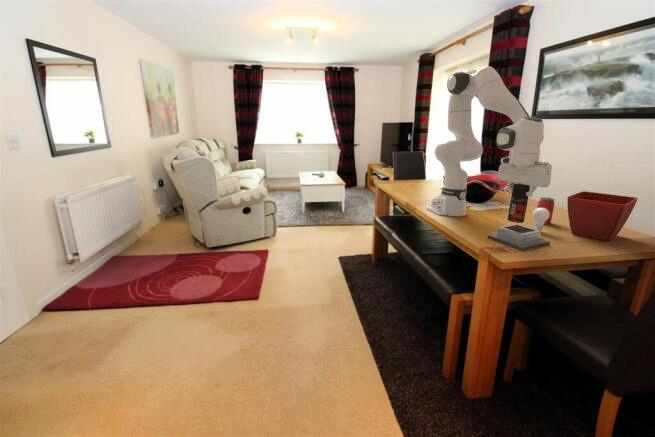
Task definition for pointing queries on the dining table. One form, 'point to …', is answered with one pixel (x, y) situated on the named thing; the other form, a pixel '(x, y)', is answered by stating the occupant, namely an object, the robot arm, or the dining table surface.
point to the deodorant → (518, 203)
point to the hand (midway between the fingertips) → (520, 194)
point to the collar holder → (519, 237)
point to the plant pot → (598, 214)
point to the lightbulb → (540, 217)
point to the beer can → (547, 207)
